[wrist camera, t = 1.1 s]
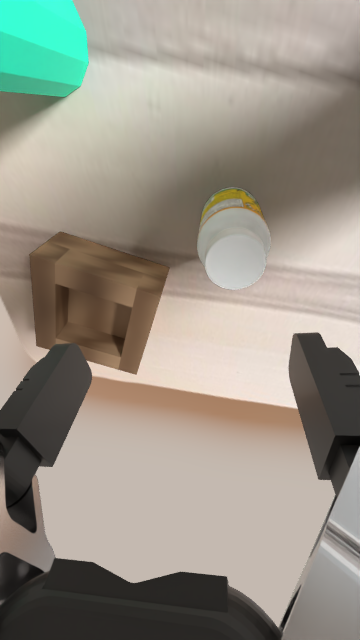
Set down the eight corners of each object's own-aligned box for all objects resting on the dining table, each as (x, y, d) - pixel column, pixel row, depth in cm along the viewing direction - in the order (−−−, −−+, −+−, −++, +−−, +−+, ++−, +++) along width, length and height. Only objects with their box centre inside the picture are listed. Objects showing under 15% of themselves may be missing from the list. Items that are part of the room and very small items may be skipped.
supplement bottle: (195, 195, 24) (184, 233, 16) (256, 178, 22) (274, 211, 15) (208, 250, 27) (203, 303, 19) (262, 238, 25) (280, 291, 18)
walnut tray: (170, 266, 29) (160, 296, 24) (147, 340, 36) (136, 374, 32) (61, 230, 28) (29, 254, 23) (60, 314, 35) (36, 345, 31)
